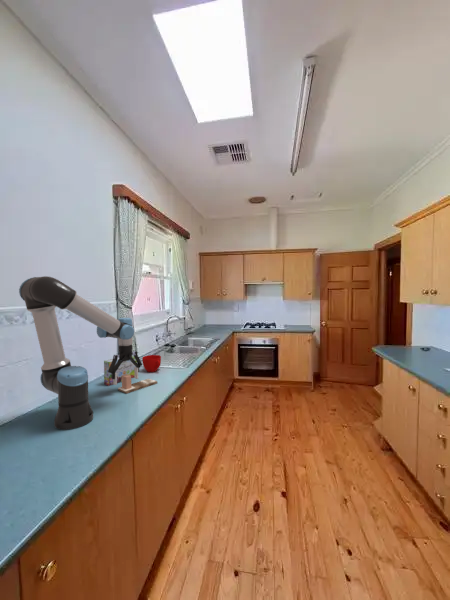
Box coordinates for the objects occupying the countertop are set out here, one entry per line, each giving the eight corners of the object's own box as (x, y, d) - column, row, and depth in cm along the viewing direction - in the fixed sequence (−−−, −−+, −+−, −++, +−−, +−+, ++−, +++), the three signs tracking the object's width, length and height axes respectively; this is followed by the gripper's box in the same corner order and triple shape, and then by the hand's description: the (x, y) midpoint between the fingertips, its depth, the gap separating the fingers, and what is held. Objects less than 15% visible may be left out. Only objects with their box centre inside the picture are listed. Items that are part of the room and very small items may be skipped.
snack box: (109, 386, 164) (108, 361, 164) (103, 384, 167) (103, 360, 167) (137, 376, 182) (137, 354, 182) (132, 375, 185) (131, 353, 185)
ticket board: (126, 393, 152) (126, 390, 152) (118, 390, 158) (118, 387, 158) (157, 383, 168) (157, 380, 168) (148, 380, 174) (148, 378, 174)
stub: (125, 391, 152) (125, 378, 152) (117, 388, 157) (117, 375, 157) (135, 388, 157) (135, 375, 157) (128, 385, 162) (127, 373, 162)
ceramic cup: (151, 376, 183) (151, 361, 183) (139, 371, 195) (138, 357, 194) (168, 371, 192) (167, 357, 192) (154, 367, 204) (154, 354, 204)
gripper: (140, 340, 168) (140, 374, 169) (101, 347, 149) (101, 385, 149) (147, 342, 163) (148, 377, 164) (108, 349, 144) (108, 388, 144)
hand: (126, 381), depth 156 cm, fingers open, 13 cm apart
